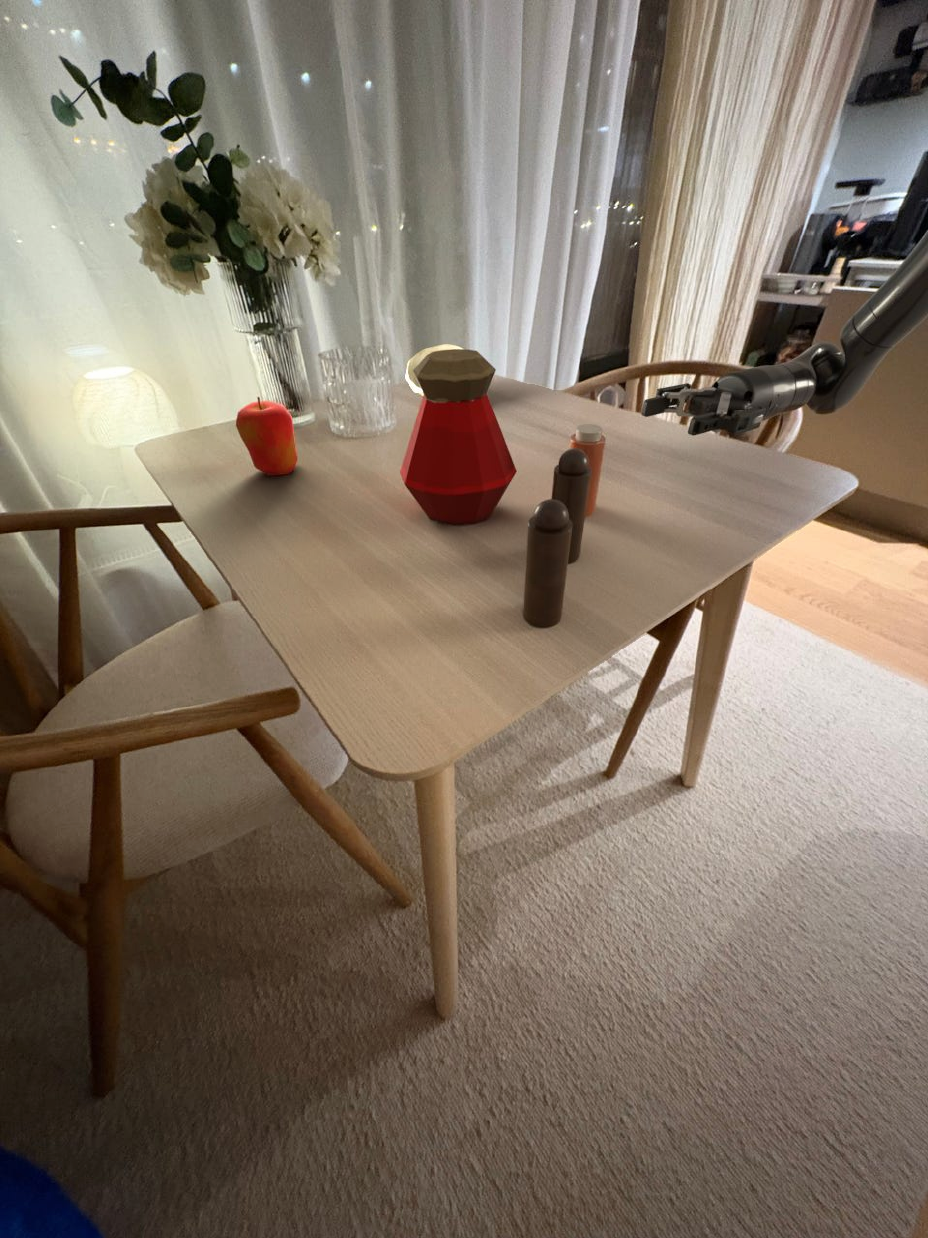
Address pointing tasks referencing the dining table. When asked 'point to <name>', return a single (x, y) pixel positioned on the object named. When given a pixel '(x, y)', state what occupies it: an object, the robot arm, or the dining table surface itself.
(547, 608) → the post
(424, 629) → the dining table surface
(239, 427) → the apple
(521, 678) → the dining table surface
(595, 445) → the shaker
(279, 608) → the dining table surface
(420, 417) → the bottle
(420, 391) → the bowl
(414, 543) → the dining table surface
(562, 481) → the post
